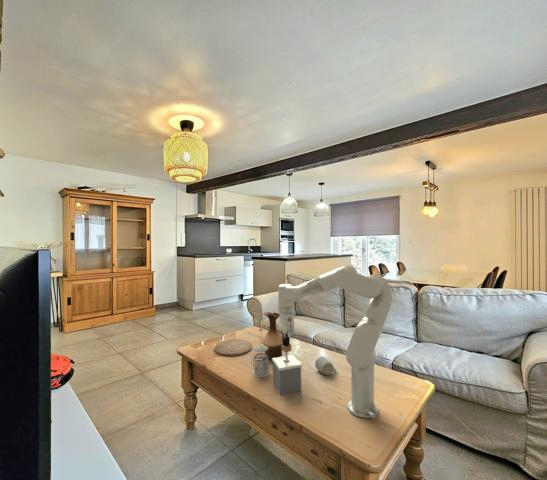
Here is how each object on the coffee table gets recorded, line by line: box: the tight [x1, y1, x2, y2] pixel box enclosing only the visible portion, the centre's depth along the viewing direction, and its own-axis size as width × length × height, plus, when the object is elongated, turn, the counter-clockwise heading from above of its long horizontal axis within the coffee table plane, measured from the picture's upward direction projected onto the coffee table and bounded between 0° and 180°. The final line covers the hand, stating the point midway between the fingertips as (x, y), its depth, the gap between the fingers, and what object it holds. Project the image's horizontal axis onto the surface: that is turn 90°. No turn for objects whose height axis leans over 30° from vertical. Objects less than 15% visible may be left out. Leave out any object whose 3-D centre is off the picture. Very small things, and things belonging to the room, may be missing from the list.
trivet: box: [213, 338, 252, 357], centre depth 193 cm, size 25×25×2 cm
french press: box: [250, 328, 271, 378], centre depth 158 cm, size 10×12×25 cm
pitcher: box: [259, 311, 283, 361], centre depth 180 cm, size 18×17×28 cm
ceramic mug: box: [314, 356, 337, 376], centre depth 159 cm, size 11×8×8 cm
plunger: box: [281, 343, 292, 363], centre depth 144 cm, size 5×5×18 cm
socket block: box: [271, 354, 303, 396], centre depth 146 cm, size 16×12×13 cm
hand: (286, 344), depth 144 cm, fingers closed
